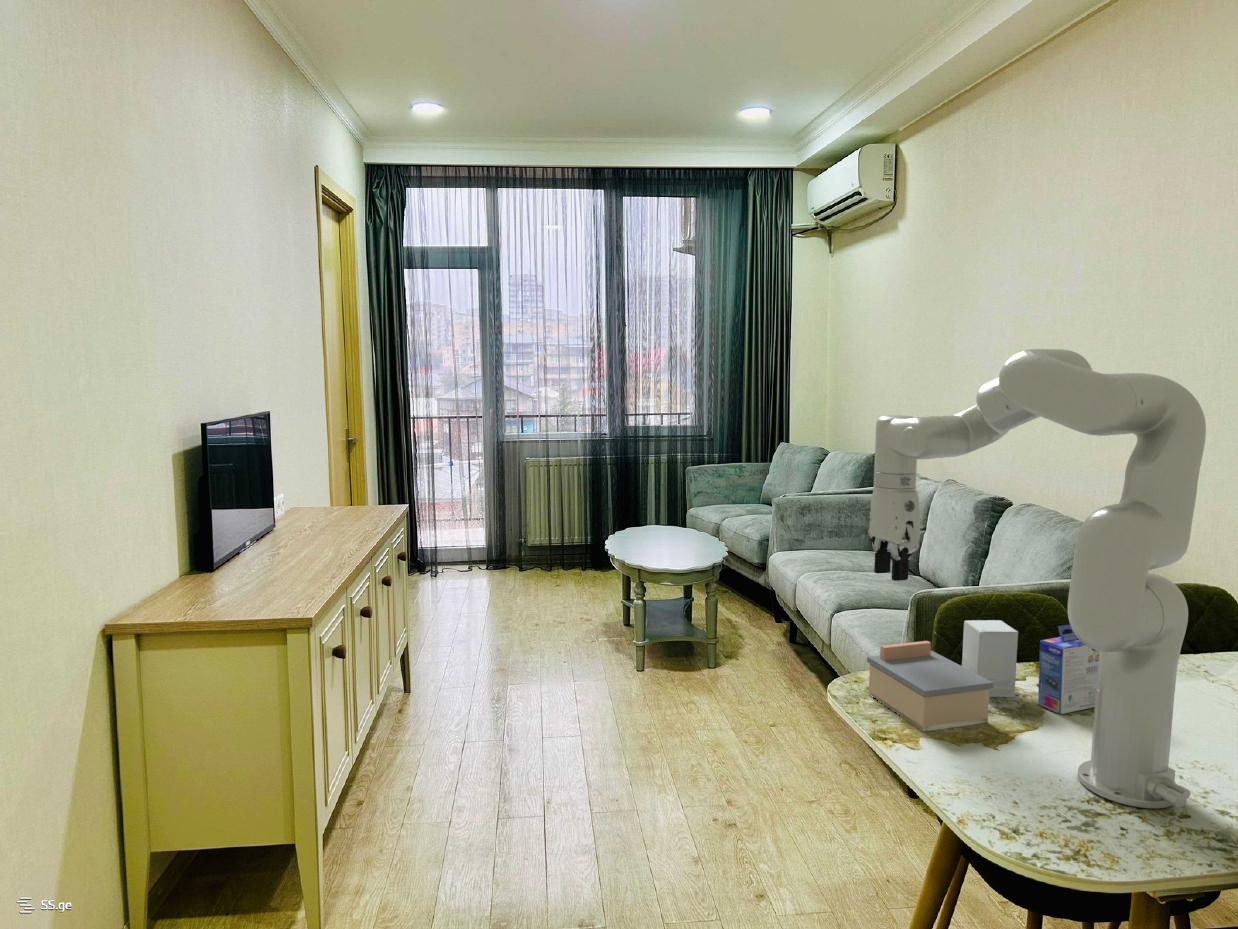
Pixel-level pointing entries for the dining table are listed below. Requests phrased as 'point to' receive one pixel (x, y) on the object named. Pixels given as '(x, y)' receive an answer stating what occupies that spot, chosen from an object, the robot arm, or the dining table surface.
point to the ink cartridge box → (1067, 673)
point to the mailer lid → (926, 670)
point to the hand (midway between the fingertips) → (890, 575)
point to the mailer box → (929, 704)
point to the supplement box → (991, 654)
